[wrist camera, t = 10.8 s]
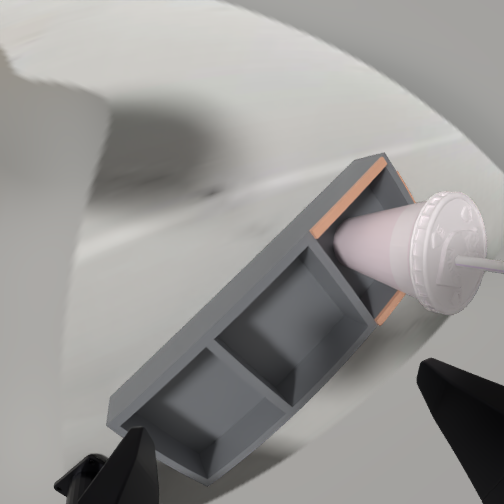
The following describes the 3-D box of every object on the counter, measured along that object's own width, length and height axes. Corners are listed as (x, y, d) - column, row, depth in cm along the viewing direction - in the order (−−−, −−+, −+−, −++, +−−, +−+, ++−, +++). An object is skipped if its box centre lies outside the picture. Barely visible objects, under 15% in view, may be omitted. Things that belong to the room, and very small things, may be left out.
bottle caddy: (198, 457, 21) (208, 489, 17) (110, 397, 18) (105, 428, 15) (408, 240, 25) (441, 242, 22) (357, 157, 23) (390, 148, 19)
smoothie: (300, 229, 21) (493, 241, 8) (363, 183, 22) (536, 163, 9) (341, 303, 23) (508, 366, 9) (395, 253, 24) (553, 275, 11)
